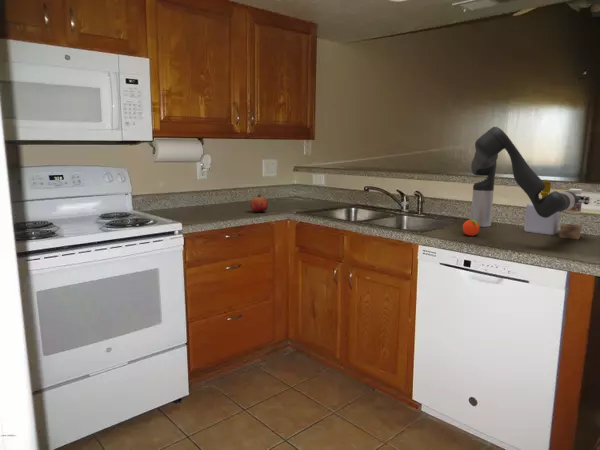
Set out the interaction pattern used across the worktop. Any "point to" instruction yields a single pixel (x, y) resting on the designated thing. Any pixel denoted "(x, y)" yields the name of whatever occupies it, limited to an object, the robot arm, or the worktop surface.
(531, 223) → the soap bottle
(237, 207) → the worktop surface
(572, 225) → the walnut block
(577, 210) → the pill bottle
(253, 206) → the fruit
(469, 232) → the clementine
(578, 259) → the worktop surface
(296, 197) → the worktop surface
